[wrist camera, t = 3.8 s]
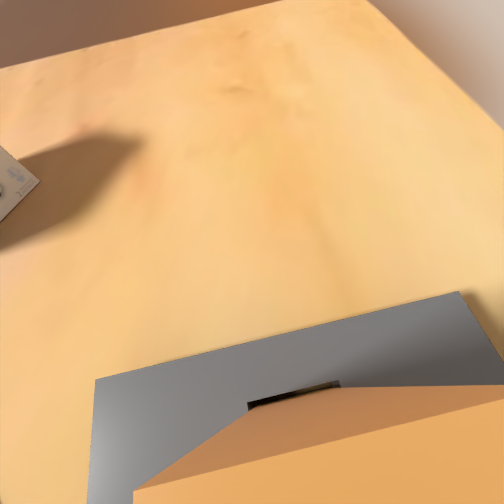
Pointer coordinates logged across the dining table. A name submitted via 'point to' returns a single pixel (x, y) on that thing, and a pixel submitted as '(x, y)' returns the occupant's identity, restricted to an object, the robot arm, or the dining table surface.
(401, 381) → the grey square-hole plate
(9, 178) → the light bulb box
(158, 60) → the dining table surface
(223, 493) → the plug
